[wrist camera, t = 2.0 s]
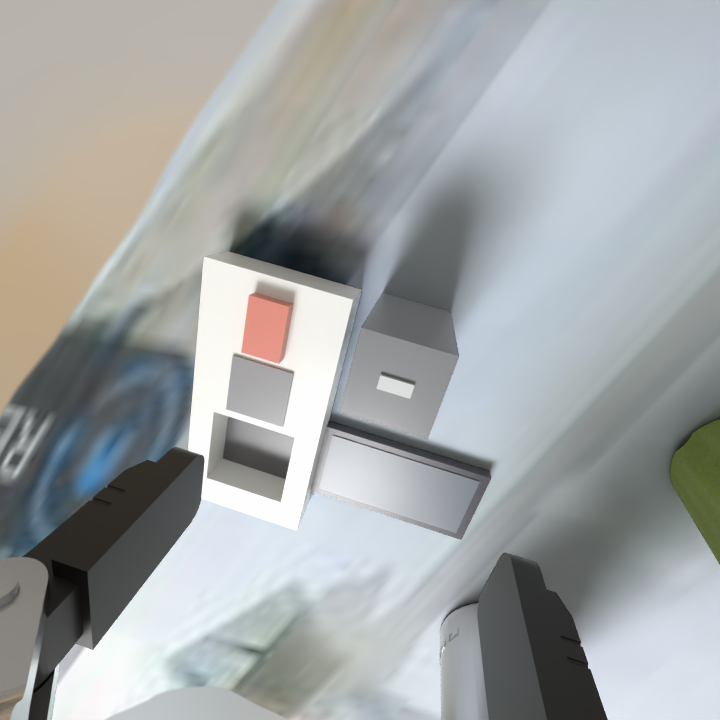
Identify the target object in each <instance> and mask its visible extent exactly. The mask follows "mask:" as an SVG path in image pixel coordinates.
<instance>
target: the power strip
mask: <svg viewBox="0 0 720 720" xmlns="http://www.w3.org/2000/svg"><path fill="white" fill-rule="evenodd" d="M361 292H362V290H361V289H358V288H354V287H351V286H347V285H344V284H340V283H337V282H333V281H330V280H326V279H323V278H319V277H316V276H313V275H309V274H306V273H302V272H299V271H295V270H292V269H288V268H285V267H281V266H278V265H274V264H271V263H267V262H264V261H260V260H257V259H253V258H250V257H246V256H243V255H239V254H236V253H233V252H224V253H219V254H214V255H209V256H204V262H203V274H202V286H201V298H200V311H199V323H198V335H197V347H196V359H195V371H194V384H193V396H192V408H191V420H190V432H189V445H188V451H191V452H194V453H197V454H200V455H203V456H204V460H205V461H204V473H203V484H202V495H201V498H202V499H205V500H208V501H211V502H214V503H217V504H220V505H223V506H225V507H228V508H231V509H234V510H237V511H240V512H243V513H246V514H249V515H252V516H255V517H258V518H261V519H264V520H267V521H270V522H273V523H276V524H279V525H282V526H285V527H288V528H291V529H294V530H297V529H298V526H299V524H300V521H301V519H302V517H303V514H304V512H305V510H306V507H307V505H308V503H309V499H310V495H311V486H312V482H313V478H314V474H315V470H316V466H317V462H318V458H319V454H320V450H321V446H322V442H323V438H324V434H325V430H326V426H327V424H328V422H329V419H330V415H331V411H332V408H333V404H334V400H335V396H336V392H337V388H338V384H339V380H340V376H341V372H342V368H343V364H344V360H345V356H346V352H347V348H348V344H349V340H350V336H351V332H352V328H353V324H354V320H355V316H356V312H357V308H358V304H359V300H360V296H361Z"/></svg>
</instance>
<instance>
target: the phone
mask: <svg viewBox="0 0 720 720" xmlns="http://www.w3.org/2000/svg"><path fill="white" fill-rule="evenodd" d="M490 480H491V476H490V472H489V471H487V470H484V469H481V468H477V467H474V466H471V465H468V464H465V463H462V462H458V461H455V460H452V459H449V458H446V457H442V456H439V455H436V454H433V453H430V452H427V451H423V450H420V449H417V448H414V447H411V446H407V445H404V444H401V443H398V442H395V441H391V440H388V439H385V438H382V437H379V436H376V435H372V434H369V433H366V432H363V431H360V430H356V429H353V428H350V427H347V426H344V425H341V424H337V423H334V422H331V421H329V422H328V424H327V426H326V430H325V434H324V438H323V442H322V446H321V450H320V454H319V458H318V462H317V466H316V470H315V474H314V478H313V482H312V486H311V491H314V492H317V493H320V494H323V495H326V496H329V497H332V498H336V499H339V500H342V501H345V502H348V503H351V504H354V505H357V506H360V507H363V508H366V509H369V510H372V511H375V512H378V513H381V514H384V515H387V516H390V517H393V518H396V519H400V520H403V521H406V522H409V523H412V524H415V525H418V526H421V527H424V528H427V529H430V530H433V531H436V532H439V533H442V534H445V535H448V536H451V537H454V538H457V539H460V540H461V539H462V537H463V535H464V533H465V531H466V529H467V527H468V525H469V523H470V521H471V519H472V517H473V515H474V513H475V511H476V508H477V506H478V504H479V502H480V500H481V498H482V496H483V494H484V492H485V490H486V488H487V486H488V484H489V482H490Z"/></svg>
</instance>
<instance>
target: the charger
mask: <svg viewBox="0 0 720 720" xmlns="http://www.w3.org/2000/svg"><path fill="white" fill-rule="evenodd" d="M458 358H459V353H458V348H457V342H456V337H455V331H454V326H453V321H452V315H451V312H450V311H446V310H443V309H439V308H436V307H432V306H429V305H425V304H422V303H419V302H415V301H412V300H408V299H405V298H401V297H398V296H394V295H391V294H387V293H384V292H383V293H382V294H381V296H380V298H379V299H378V301H377V303H376V304H375V306H374V307H373V309H372V311H371V312H370V314H369V316H368V317H367V319H366V320H365V322H364V324H363V325H362V327H361V330H360V334H359V338H358V341H357V345H356V349H355V353H354V357H353V361H352V364H351V368H350V372H349V376H348V380H347V384H346V387H345V391H344V395H343V399H342V403H341V407H340V410H339V412H341V413H344V414H348V415H351V416H354V417H357V418H360V419H364V420H367V421H370V422H373V423H376V424H380V425H383V426H386V427H389V428H392V429H396V430H399V431H402V432H405V433H408V434H412V435H415V436H418V437H421V438H424V439H428V437H429V434H430V432H431V429H432V426H433V424H434V421H435V418H436V416H437V413H438V411H439V408H440V405H441V403H442V400H443V397H444V395H445V392H446V390H447V387H448V384H449V382H450V379H451V376H452V374H453V371H454V369H455V366H456V363H457V361H458Z"/></svg>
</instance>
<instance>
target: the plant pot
mask: <svg viewBox="0 0 720 720" xmlns="http://www.w3.org/2000/svg"><path fill="white" fill-rule="evenodd" d="M670 478H671V482H672V485H673V486H674V488H675V490H676V492H677V493H678V495H679V497H680V499H681V500H682V502H683V504H684V505H685V507H686V509H687V510H688V512H689V514H690V515H691V517H692V519H693V520H694V522H695V524H696V526H697V527H698V529H699V531H700V532H701V534H702V536H703V537H704V539H705V541H706V542H707V544H708V546H709V547H710V549H711V551H712V552H713V554H714V556H715V557H716V559H717V561H718V562H719V564H720V419H719V420H716V421H713V422H711V423H709V424H707V425H705V426H703V427H701V428H699V429H698V430H696V431H695V432H694V433H693V434H692V435H691V437H690V438H689V440H688V441H687V442H686V443H685V444H684V445H683V446H682V447H681V448H680V449H679V450H677V451H676V452H675V454H674V456H673V459H672V463H671V468H670Z"/></svg>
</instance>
